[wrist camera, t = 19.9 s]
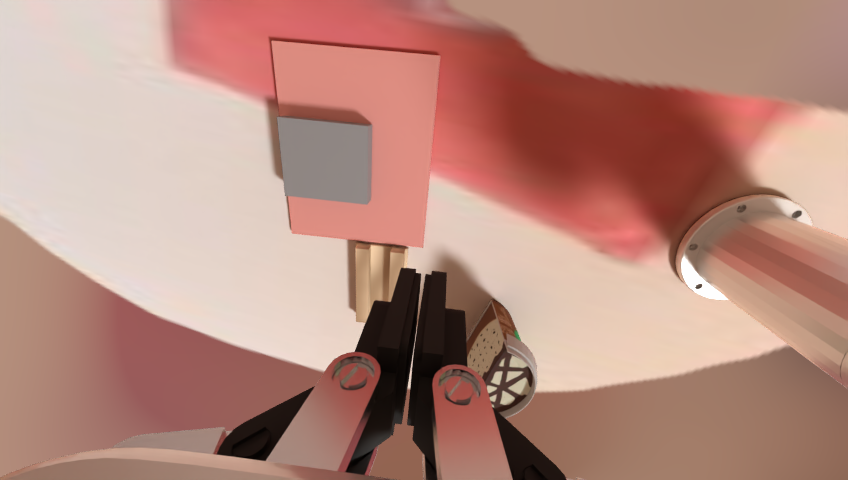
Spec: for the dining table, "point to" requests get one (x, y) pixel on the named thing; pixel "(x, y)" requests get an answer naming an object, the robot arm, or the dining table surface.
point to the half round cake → (502, 360)
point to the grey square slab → (326, 159)
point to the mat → (391, 134)
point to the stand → (376, 274)
